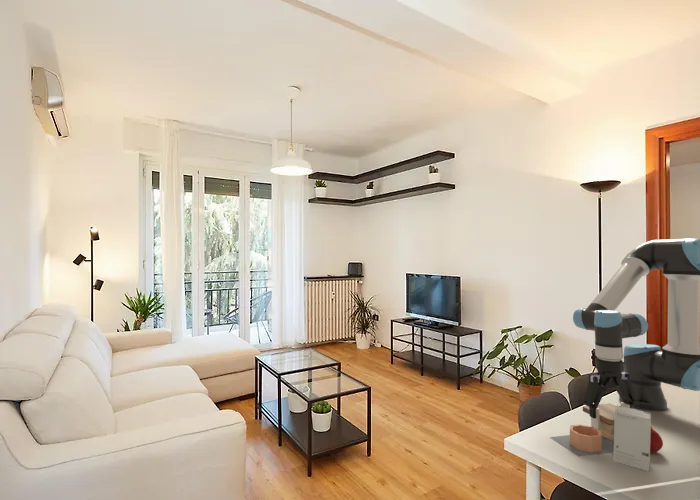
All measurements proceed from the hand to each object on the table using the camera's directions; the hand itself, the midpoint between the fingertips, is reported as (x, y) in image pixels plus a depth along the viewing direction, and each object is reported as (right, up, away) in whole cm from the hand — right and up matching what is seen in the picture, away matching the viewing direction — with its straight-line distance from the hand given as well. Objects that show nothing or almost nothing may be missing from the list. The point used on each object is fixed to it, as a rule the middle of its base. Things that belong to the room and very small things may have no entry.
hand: (610, 425), depth 126 cm
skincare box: (-6, -3, -17) cm, 19 cm away
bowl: (-13, -2, -8) cm, 16 cm away
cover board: (0, +3, 0) cm, 3 cm away
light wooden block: (0, -3, 0) cm, 3 cm away
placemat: (-12, -3, -7) cm, 14 cm away
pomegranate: (+4, -3, -12) cm, 13 cm away
